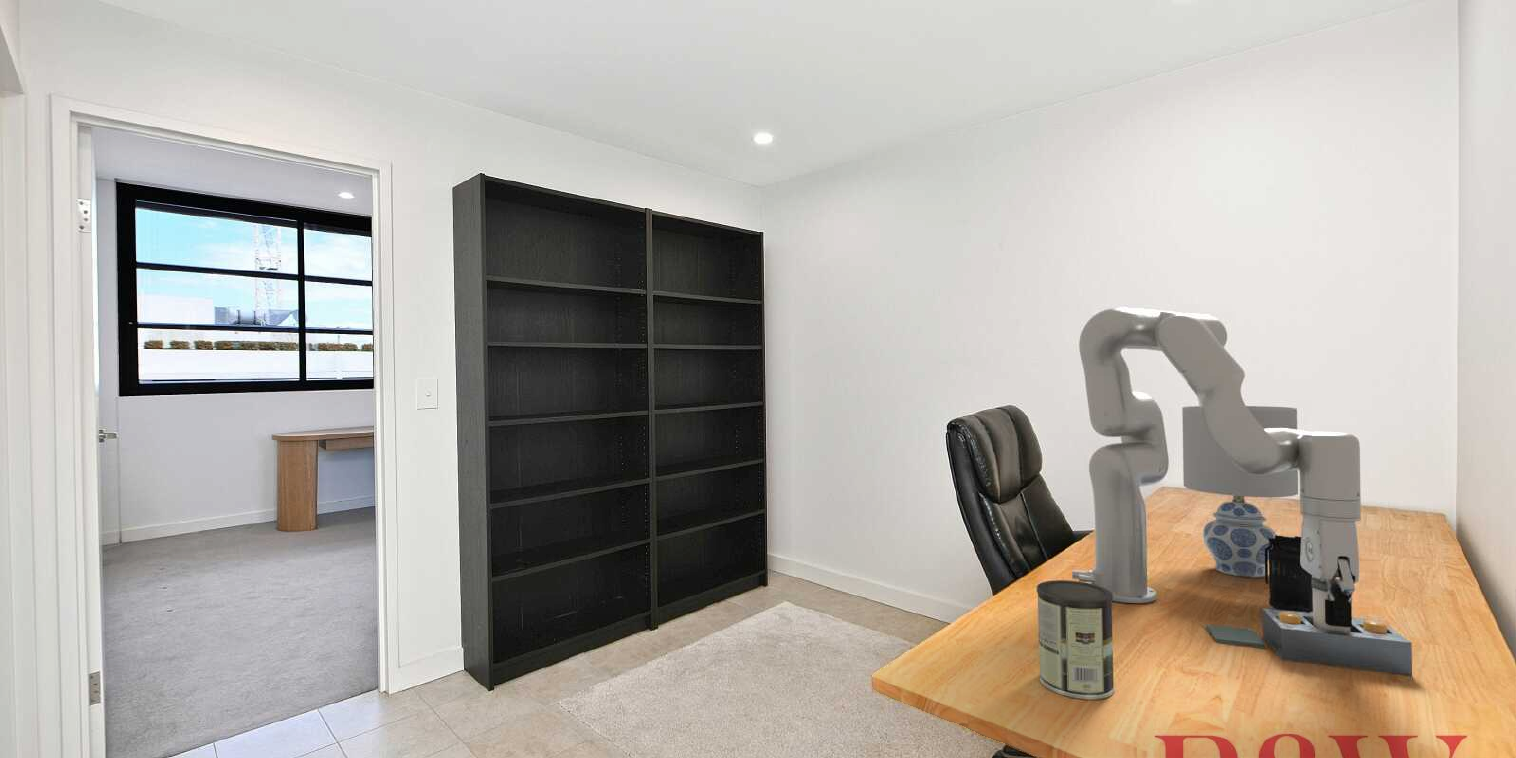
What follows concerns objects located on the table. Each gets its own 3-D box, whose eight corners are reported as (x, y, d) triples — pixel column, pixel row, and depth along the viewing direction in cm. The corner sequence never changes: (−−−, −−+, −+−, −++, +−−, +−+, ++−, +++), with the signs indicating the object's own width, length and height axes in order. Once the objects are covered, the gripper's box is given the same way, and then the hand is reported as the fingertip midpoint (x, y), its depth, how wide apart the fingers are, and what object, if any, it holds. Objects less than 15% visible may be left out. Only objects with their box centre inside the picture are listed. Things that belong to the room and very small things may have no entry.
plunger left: (1282, 646, 109) (1282, 616, 109) (1277, 640, 112) (1276, 611, 112) (1303, 649, 108) (1303, 618, 108) (1297, 642, 110) (1297, 613, 110)
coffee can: (1077, 665, 105) (1076, 576, 105) (1131, 694, 95) (1129, 596, 95) (1023, 674, 102) (1021, 583, 102) (1072, 705, 92) (1070, 604, 92)
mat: (1215, 642, 113) (1215, 638, 113) (1206, 627, 120) (1206, 624, 120) (1265, 648, 111) (1265, 644, 111) (1253, 632, 117) (1252, 629, 117)
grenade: (1306, 611, 127) (1305, 533, 127) (1318, 622, 121) (1317, 541, 121) (1261, 606, 130) (1260, 530, 130) (1270, 617, 124) (1269, 537, 124)
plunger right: (1368, 656, 105) (1367, 625, 105) (1360, 649, 107) (1359, 619, 107) (1390, 659, 104) (1390, 627, 104) (1382, 652, 106) (1381, 621, 106)
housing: (1282, 659, 106) (1281, 628, 106) (1262, 636, 115) (1262, 608, 115) (1412, 675, 100) (1411, 642, 100) (1380, 650, 109) (1380, 620, 109)
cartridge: (1319, 658, 106) (1318, 584, 106) (1308, 647, 111) (1307, 575, 111) (1357, 663, 104) (1356, 587, 104) (1344, 651, 109) (1343, 578, 109)
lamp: (1187, 554, 168) (1185, 405, 168) (1296, 567, 155) (1293, 406, 155) (1182, 575, 151) (1179, 409, 151) (1303, 592, 138) (1300, 410, 138)
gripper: (1283, 498, 117) (1285, 601, 117) (1321, 516, 101) (1323, 635, 101) (1337, 500, 114) (1338, 606, 114) (1384, 520, 98) (1386, 642, 98)
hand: (1331, 618), depth 108 cm, fingers closed on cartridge, 4 cm apart
